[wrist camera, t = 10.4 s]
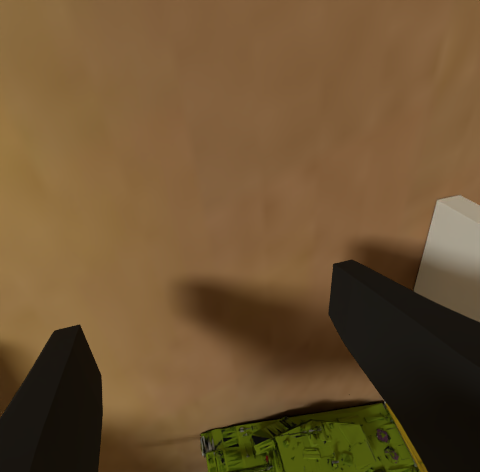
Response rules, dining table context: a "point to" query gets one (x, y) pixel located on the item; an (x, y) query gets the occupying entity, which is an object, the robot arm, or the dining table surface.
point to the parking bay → (452, 259)
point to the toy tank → (315, 444)
